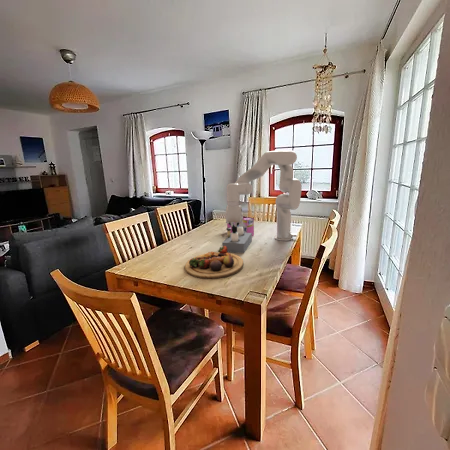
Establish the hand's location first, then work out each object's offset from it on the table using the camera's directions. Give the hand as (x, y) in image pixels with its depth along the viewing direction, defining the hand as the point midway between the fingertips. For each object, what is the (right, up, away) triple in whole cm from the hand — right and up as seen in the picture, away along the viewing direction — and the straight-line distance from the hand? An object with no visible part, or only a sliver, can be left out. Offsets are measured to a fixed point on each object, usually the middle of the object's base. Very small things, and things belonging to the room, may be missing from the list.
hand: (234, 232), depth 156 cm
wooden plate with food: (-12, -18, -21) cm, 30 cm away
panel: (+3, -9, +9) cm, 13 cm away
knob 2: (+5, -3, +15) cm, 16 cm away
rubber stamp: (-3, -3, +10) cm, 11 cm away
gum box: (+6, -2, +38) cm, 39 cm away
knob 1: (0, -7, +2) cm, 7 cm away
